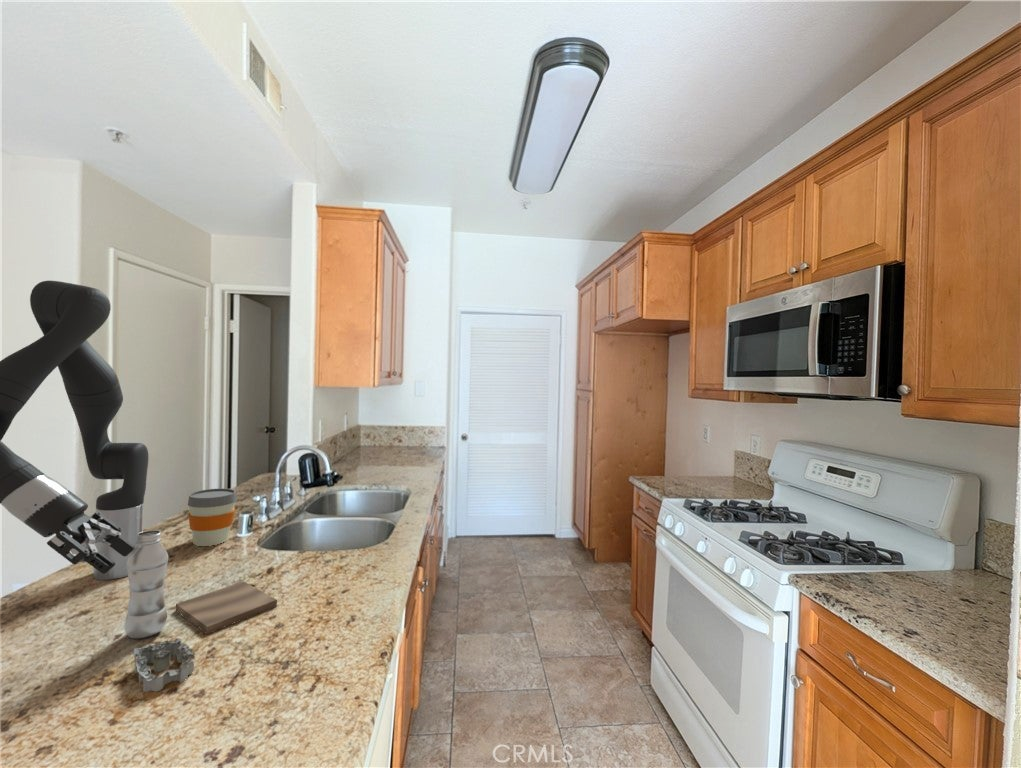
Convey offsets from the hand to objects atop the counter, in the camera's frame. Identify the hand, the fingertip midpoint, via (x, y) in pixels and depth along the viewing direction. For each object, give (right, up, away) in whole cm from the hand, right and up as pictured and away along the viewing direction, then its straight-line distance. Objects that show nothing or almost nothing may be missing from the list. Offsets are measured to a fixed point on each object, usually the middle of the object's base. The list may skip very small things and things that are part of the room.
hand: (121, 560), depth 86 cm
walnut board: (+13, -16, +12) cm, 24 cm away
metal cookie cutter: (+15, -16, -9) cm, 24 cm away
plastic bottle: (+3, -15, +2) cm, 16 cm away
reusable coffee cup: (-17, -15, +51) cm, 56 cm away
